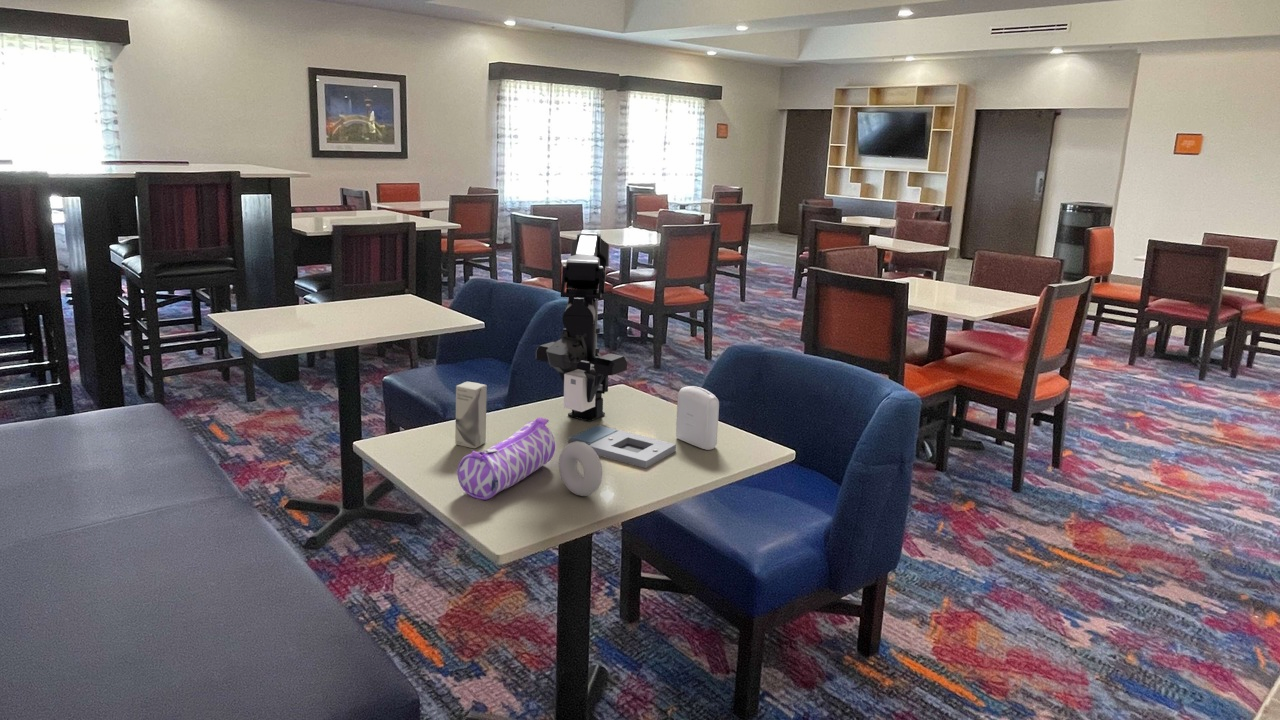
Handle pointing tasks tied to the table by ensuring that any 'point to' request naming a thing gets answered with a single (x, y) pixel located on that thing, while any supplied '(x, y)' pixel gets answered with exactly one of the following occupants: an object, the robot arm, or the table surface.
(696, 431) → the photo printer
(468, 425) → the box
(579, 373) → the block
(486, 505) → the table surface
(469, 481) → the pencil case
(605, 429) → the phone
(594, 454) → the donut
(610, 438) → the outlet plate
